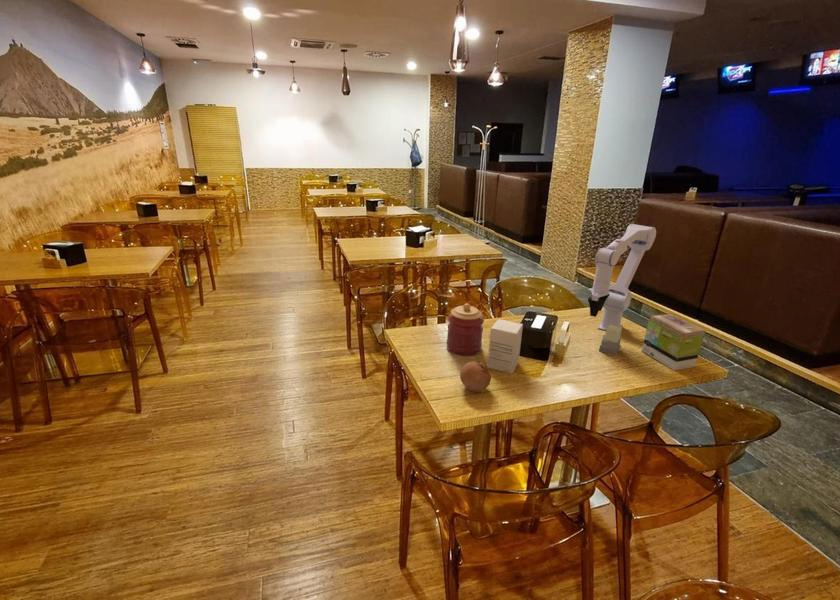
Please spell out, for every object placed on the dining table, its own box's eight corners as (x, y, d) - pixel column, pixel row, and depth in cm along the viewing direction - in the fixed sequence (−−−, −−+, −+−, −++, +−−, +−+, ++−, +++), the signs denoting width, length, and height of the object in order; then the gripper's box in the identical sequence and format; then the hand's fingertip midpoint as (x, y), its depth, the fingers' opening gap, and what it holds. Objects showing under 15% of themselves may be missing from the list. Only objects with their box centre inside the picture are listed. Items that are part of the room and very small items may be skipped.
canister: (473, 359, 148) (476, 313, 142) (440, 350, 154) (442, 305, 148) (486, 345, 159) (490, 301, 153) (455, 337, 165) (458, 294, 159)
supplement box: (494, 356, 151) (498, 318, 146) (518, 362, 147) (523, 323, 142) (486, 367, 143) (490, 327, 138) (512, 374, 140) (517, 333, 134)
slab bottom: (603, 346, 162) (604, 340, 161) (619, 351, 159) (620, 345, 158) (598, 351, 158) (599, 345, 157) (615, 356, 154) (616, 350, 154)
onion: (485, 396, 133) (503, 373, 129) (468, 401, 126) (486, 376, 122) (466, 375, 138) (482, 352, 134) (448, 378, 131) (465, 354, 127)
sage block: (607, 335, 160) (609, 324, 158) (619, 338, 157) (622, 327, 156) (604, 339, 156) (606, 328, 155) (617, 343, 154) (619, 331, 152)
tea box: (640, 351, 158) (648, 315, 153) (660, 348, 161) (670, 312, 156) (673, 371, 145) (684, 332, 140) (695, 367, 148) (707, 329, 143)
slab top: (602, 340, 161) (603, 334, 160) (619, 344, 159) (620, 338, 158) (600, 346, 156) (601, 340, 155) (618, 350, 154) (619, 344, 153)
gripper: (596, 273, 168) (589, 305, 173) (586, 282, 157) (580, 316, 161) (614, 277, 164) (608, 309, 169) (606, 286, 153) (599, 320, 158)
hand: (595, 313), depth 165 cm, fingers open, 7 cm apart
